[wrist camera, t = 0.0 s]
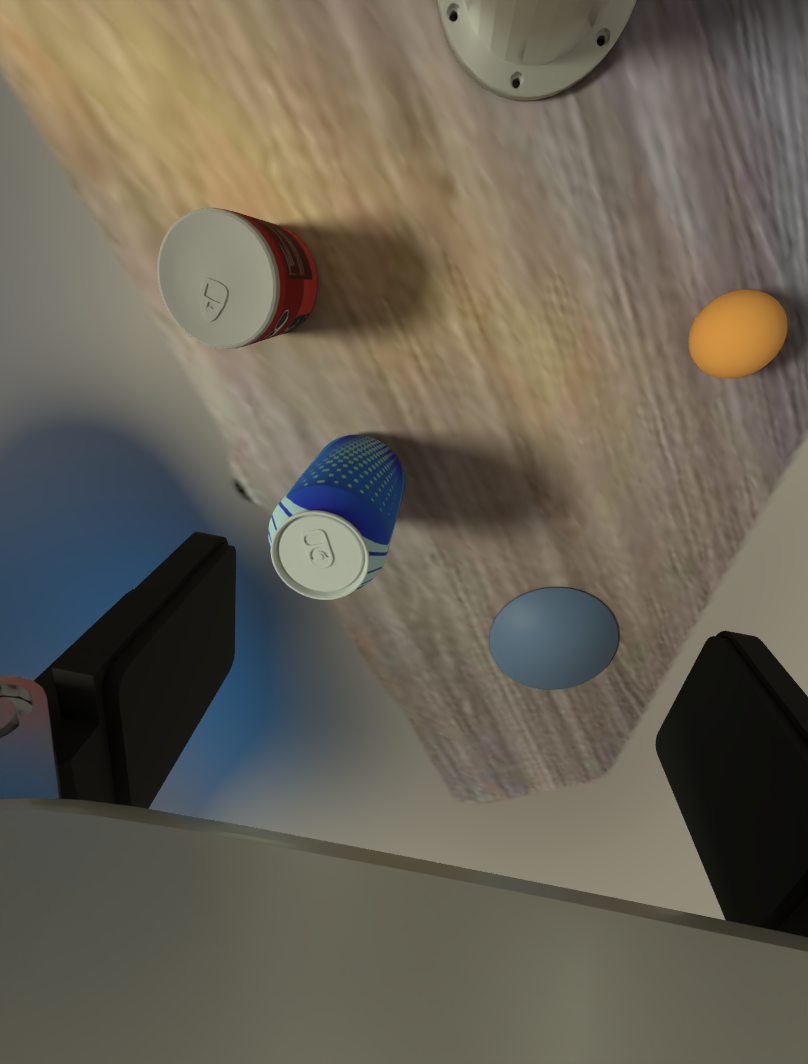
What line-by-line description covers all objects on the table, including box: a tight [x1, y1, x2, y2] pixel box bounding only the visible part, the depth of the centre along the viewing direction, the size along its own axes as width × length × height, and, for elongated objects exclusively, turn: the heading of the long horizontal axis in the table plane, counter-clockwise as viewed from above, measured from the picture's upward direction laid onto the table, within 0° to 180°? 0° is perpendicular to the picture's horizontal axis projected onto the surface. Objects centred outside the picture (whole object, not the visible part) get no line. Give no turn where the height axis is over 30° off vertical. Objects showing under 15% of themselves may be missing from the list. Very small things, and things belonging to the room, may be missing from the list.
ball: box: [689, 289, 787, 379], centre depth 38 cm, size 6×6×6 cm
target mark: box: [489, 587, 618, 690], centre depth 54 cm, size 13×13×1 cm
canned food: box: [157, 208, 318, 349], centre depth 37 cm, size 8×8×11 cm
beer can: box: [269, 435, 405, 600], centre depth 41 cm, size 8×8×16 cm
